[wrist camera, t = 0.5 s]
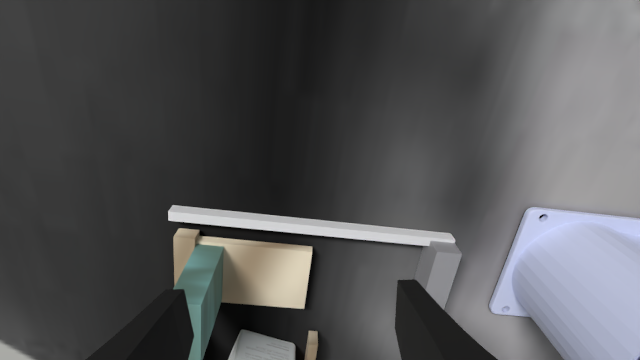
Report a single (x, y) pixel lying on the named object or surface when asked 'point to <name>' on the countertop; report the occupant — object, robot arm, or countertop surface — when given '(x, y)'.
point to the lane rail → (433, 263)
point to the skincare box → (261, 348)
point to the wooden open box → (238, 279)
